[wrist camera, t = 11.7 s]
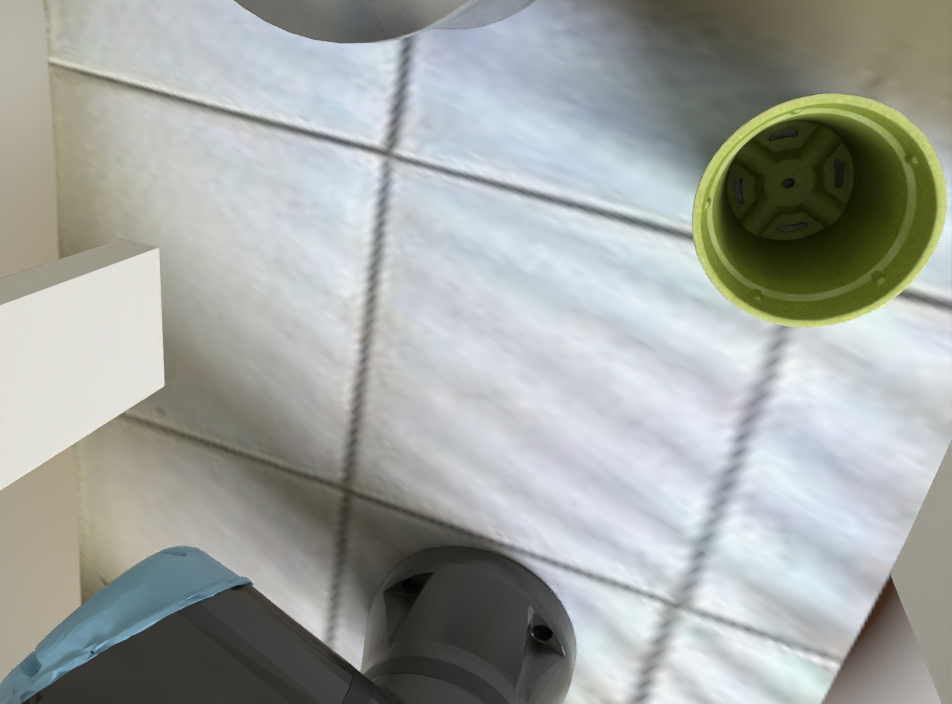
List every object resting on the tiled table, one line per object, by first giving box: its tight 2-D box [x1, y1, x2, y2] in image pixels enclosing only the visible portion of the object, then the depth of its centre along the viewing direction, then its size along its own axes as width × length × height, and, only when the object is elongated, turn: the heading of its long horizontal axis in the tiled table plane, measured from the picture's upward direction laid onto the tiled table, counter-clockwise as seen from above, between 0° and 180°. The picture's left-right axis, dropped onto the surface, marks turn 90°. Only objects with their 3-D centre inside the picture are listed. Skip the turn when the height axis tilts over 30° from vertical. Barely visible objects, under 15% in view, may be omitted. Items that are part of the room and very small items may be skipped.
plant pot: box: [692, 93, 947, 327], centre depth 33 cm, size 9×9×9 cm
